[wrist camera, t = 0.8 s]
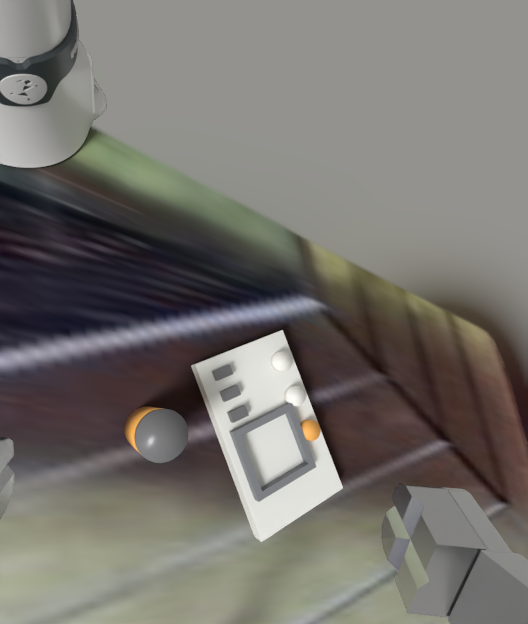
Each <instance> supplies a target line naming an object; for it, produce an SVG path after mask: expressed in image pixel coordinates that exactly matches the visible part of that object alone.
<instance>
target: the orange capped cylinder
mask: <svg viewBox="0 0 528 624" xmlns="http://www.w3.org/2000/svg"><path fill="white" fill-rule="evenodd" d="M124 432H125V436H126V439H127V441H128V442H129V443H130V444H131V445H132V446H133V447H134V448H135V449H136V450H137V451H138V452H139V453H140V454H141V455H142V456H143V457H144V458H146V459H147V460H149V461H151V462H155V463H164V462H168V461H170V460H172V459H174V458H176V457H177V456H178V455H179V454H180V453H181V452H182V451H183V449H184V448H185V446H186V443H187V439H188V427H187V424H186V422H185V420H184V419H183V417H182V416H181V415H180V414H178V413H177V412H175V411H173V410H169V409H163V408H156V407H148V406H147V407H141V408H138V409H136V410H135V411H133V412H132V413H131V414H130V415H129V417H128V418H127V420H126V423H125V428H124Z"/></svg>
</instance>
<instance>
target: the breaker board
mask: <svg viewBox="0 0 528 624" xmlns="http://www.w3.org/2000/svg"><path fill="white" fill-rule="evenodd" d="M191 367H192V370H193V373H194V375H195V378H196V381H197V383H198V386H199V389H200V391H201V394H202V397H203V399H204V402H205V405H206V407H207V410H208V413H209V416H210V418H211V421H212V424H213V426H214V429H215V432H216V434H217V437H218V440H219V442H220V445H221V448H222V450H223V453H224V456H225V458H226V461H227V464H228V467H229V469H230V472H231V475H232V477H233V480H234V483H235V485H236V488H237V491H238V493H239V496H240V499H241V501H242V504H243V507H244V510H245V512H246V515H247V518H248V520H249V523H250V526H251V528H252V531H253V534H254V536H255V537H256V538H257V539H258V540H260V541H261V542H262V541H264V540H265V539H267V538H268V537H270V536H271V535H273V534H274V533H276V532H277V531H279V530H280V529H282V528H283V527H285V526H286V525H288V524H289V523H291V522H292V521H294V520H295V519H297V518H298V517H300V516H302V515H303V514H305V513H306V512H308V511H309V510H311V509H312V508H314V507H315V506H317V505H318V504H320V503H321V502H323V501H324V500H326V499H327V498H329V497H330V496H332V495H333V494H335V493H336V492H338V491H339V490H341V489H342V488H343V487H342V484H341V481H340V479H339V476H338V474H337V471H336V468H335V466H334V463H333V460H332V458H331V455H330V453H329V450H328V447H327V445H326V442H325V440H324V437H323V434H322V432H321V429H320V426H319V424H318V421H317V419H316V416H315V413H314V411H313V408H312V406H311V403H310V400H309V398H308V395H307V392H306V390H305V387H304V385H303V382H302V379H301V377H300V374H299V372H298V369H297V366H296V364H295V361H294V358H293V356H292V353H291V351H290V348H289V345H288V343H287V340H286V337H285V335H284V332H283V330H281V331H278V332H275V333H273V334H270V335H267V336H265V337H262V338H260V339H257V340H255V341H252V342H250V343H247V344H245V345H242V346H240V347H237V348H234V349H232V350H229V351H227V352H224V353H222V354H219V355H217V356H214V357H212V358H209V359H207V360H204V361H201V362H199V363H196V364H194V365H191Z"/></svg>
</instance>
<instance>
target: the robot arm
mask: <svg viewBox="0 0 528 624" xmlns="http://www.w3.org/2000/svg"><path fill="white" fill-rule="evenodd" d="M106 106H107V104H106V97H105V95H104V94H103V92H102V90H101V89H100V87H99V85H98V84H97V82H96V80H95V79H94V77H93V64H92V58H91V55H90V54H89V53H87V52H86V50H85V48H84V46H83V45H82V43H81V42H80V40H79V31H78V22H77V18H76V11H75V6H74V3H73V0H0V163H1V164H4V165H8V166H14V167H22V168H36V167H44V166H49V165H53V164H56V163H59V162H61V161H63V160H65V159H67V158H68V157H70V156H71V155H73V154H74V153H75V152H76V151H77V150H78V149H79V148H80V147H81V146H82V144H83V143H84V141H85V139H86V137H87V135H88V132H89V129H90V126H91V124H92V122H93V121H94V120H95V119H96V118H98V117H99V116H100V115H101V114H102V113H103V112H104V111H105V109H106ZM13 456H14V451H13V441H11V440H10V439H9V438H4V437H0V519H1V517H2V516H3V514H4V513H5V511H6V508H7V506H8V504H9V501H10V499H11V497H12V492H13V487H14V473H13V472H12V470H11V469H10V468H9V467H8V465H7V463H8V462H9V461H10V460H11V458H12V457H13ZM392 500H393V502H394V504H395V506H394V507H393V508H391V509H390V510H389V511H388V512H386V514H385V517H384V520H383V523H382V543H383V549H384V552H385V555H386V557H387V560H388V561H389V562H390V563H391V564H392V565H393V566H394V567H395V568H396V569H397V570H398V573H397V576H396V579H395V582H396V584H397V587H398V590H399V592H400V595H401V597H402V600H403V603H404V605H405V608H406V611H407V613H410V614H419V615H428V616H437V617H446V618H448V621H449V622H450V623H451V624H528V560H527V559H526V558H525V557H523V556H522V555H520V554H516V553H512V552H511V550H510V549H509V547H508V546H507V545H506V543H505V542H504V540H503V539H502V537H501V536H500V535H499V533H498V532H497V530H496V529H495V528H494V526H493V525H492V523H491V522H490V521H489V519H488V518H487V516H486V515H485V514H484V512H483V511H482V509H481V508H480V507H479V505H478V504H477V502H476V501H475V500H474V498H473V497H472V495H471V494H470V493H469V492H467V491H466V490H464V489H455V488H444V487H442V488H439V487H430V486H420V485H411V484H402V483H399V484H398V485H397V486H396V487H395V489H394V492H393V494H392Z"/></svg>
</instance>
